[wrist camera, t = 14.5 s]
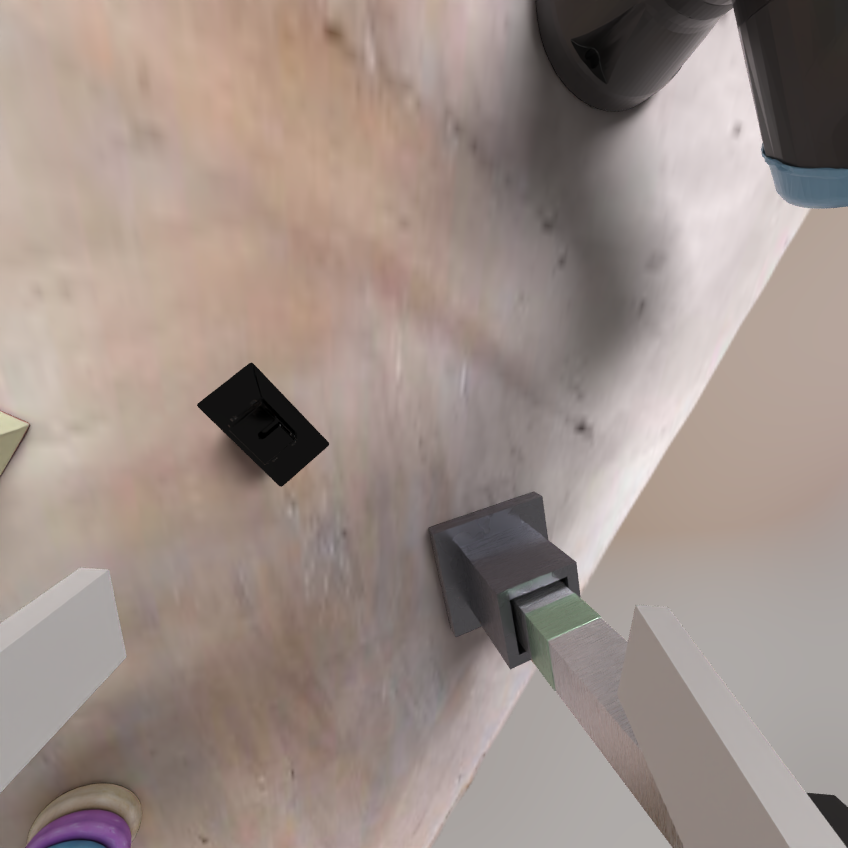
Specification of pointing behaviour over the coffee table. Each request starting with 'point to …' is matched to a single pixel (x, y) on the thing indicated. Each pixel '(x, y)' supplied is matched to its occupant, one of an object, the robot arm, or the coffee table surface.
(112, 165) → the coffee table surface
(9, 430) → the gift box
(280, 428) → the black rectangular block
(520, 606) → the stand post
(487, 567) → the stand base
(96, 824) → the stacking toy
